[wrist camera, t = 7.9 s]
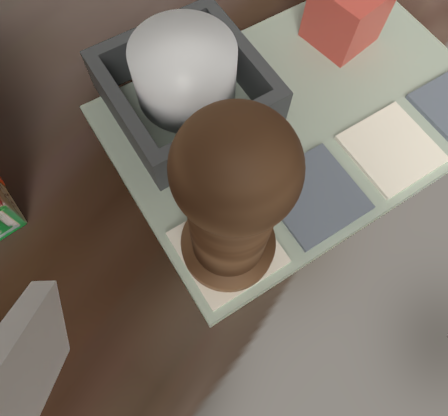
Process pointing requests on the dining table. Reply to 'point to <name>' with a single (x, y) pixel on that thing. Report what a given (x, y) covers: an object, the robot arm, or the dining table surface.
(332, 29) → the die
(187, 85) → the dome
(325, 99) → the board
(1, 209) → the stack of blocks
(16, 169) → the dining table surface
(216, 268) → the pawn
